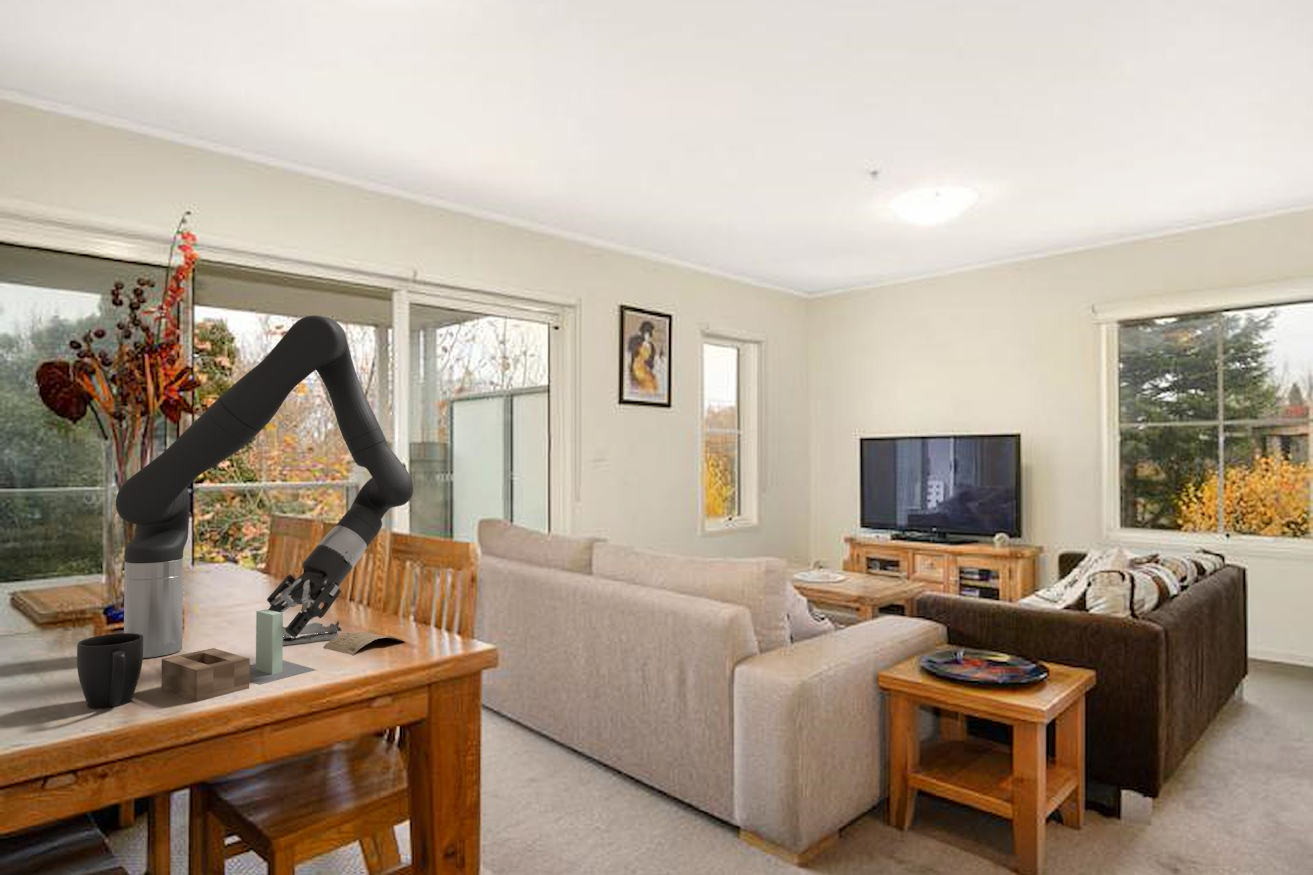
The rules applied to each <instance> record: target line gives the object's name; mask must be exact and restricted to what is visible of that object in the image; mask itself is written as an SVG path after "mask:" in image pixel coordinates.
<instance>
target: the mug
mask: <svg viewBox="0 0 1313 875" xmlns="http://www.w3.org/2000/svg"><path fill="white" fill-rule="evenodd" d="M143 660H144V658H143V635H141V634H135V633H124V632H121V633H112V634H111V633H110V634H103V635H97V636H92V637H89V638H86V639H82V640H80V641H78V643H77V645H76V668H77V675H78V679H79V685H80V687H81V690H82V693H83V696H84V699H85V701H86V704H87V707H88V708H90V709H95V710H96V709H109V708H116V707H120V706H124V705H126V704H129V703H131V702H132V700H133V698H134V694H135V691H136V689H137V685H138V682H139V680H140V676H141V673H142V672H141V670H142V666H143Z"/></svg>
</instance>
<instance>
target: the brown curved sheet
mask: <svg viewBox="0 0 1313 875" xmlns="http://www.w3.org/2000/svg"><path fill="white" fill-rule="evenodd" d="M378 639H385V640H386V639H387V640H390V639H391V641H395V640H396V641H395V642H400V641H403V642H402V643H406V641H404V640H402V639H399V638H396V637H393V636H391V637H390V636H385V635H381V634H377V633H372V632H371V633H370V632H368V631H361V630H360V631H357V630H356V631H350V632H345V633H341V634H340V635H338V636H337V637H336V638H334V639H332V640H328V642H326V643H325V645H324V646H323V647H322V648H323V650H329V651H332V652H333V651H334V652H338V653H342V654H347V655H349V656H350V655H351V656H354V655H355V654H356V653H357V652H358V651H359V650H360V649H362V648H364V647H365V646H366V645H368V644H370V643H372V642H373V641H375V640H376V641H377V640H378Z"/></svg>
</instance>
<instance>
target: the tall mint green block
mask: <svg viewBox="0 0 1313 875" xmlns="http://www.w3.org/2000/svg"><path fill="white" fill-rule="evenodd" d="M255 616H256V617H255V618H256V621H255V622H256V623H255V625H256V626H255V632H256V634H255V664H256V670H259V671H262V672H266V673H269V674H276V673H280V672H282V661H283V660H284V659H283V654H284V653H283V650H284V649H283V647H284V645H283V626H284V612H282V613H281V612H276V611H272V610H268V609H262V610H256V613H255Z"/></svg>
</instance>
